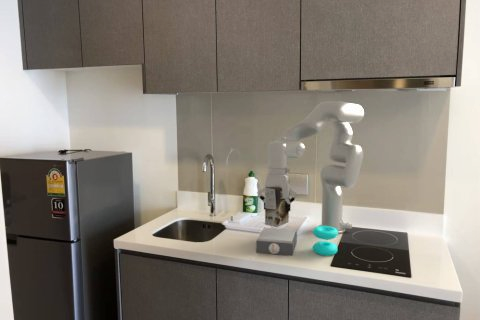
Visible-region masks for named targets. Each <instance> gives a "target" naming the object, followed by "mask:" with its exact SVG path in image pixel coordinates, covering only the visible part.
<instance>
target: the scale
mask: <svg viewBox="0 0 480 320" xmlns="http://www.w3.org/2000/svg"><path fill="white" fill-rule="evenodd" d="M297 233H298V232H297V230H296V229H291V228H290V229H289V228H280V227H266V226H265V227H263V228H262V230H261V232H260V234H259V236H257V239H256V241H255V242H256V243H255V253H256V254H257V253H258V254H267V255H269V254H271V255H278V254H279V256H291V257H292V256H293V255H294V253H295V250H296V245H297V241H298V238H297V237H298V234H297Z"/></svg>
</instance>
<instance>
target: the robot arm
mask: <svg viewBox="0 0 480 320" xmlns="http://www.w3.org/2000/svg"><path fill="white" fill-rule="evenodd" d="M364 116H365V111H364V108H363V106H361V105H360V104H358V103H352V102H346V101H339V100H337V101H336V100H333V101H332V100H329V101H328V100H327V101H326V100H324V101H321V102H320V103H318V104H317V105H316V106H315V107H314V108H313V109H312V110H311V112H309V114H307V115H306V117H305V118H304V119H303V120H301V121H298V122H297V123H296V124H294V125H292V126H290V127H288V128H287V129H284V131H283V132H282V133H281V134H280V135H279V136H278V137H277V138H276V140H274V141H273V140H272V141H270V142H269V143H268V149H267V150H268V152H267V153H268V155H267V156H268V160H267V162H268V171H267V172H268V173H266V177H265V181H264V183H265V184H264V187H263V188H261V189H260V190H258V191H257V192H256V193H257V195H258V197H259V199H260V200H261V201H262V203H263V210H265V195H264V194H262V193H265V190H266V187H269V188H282V194H283V199H285V200H286V201H287V205H286V213H290V212H291V207H292V206H291V205H292V204H291V203H292V202H294V201H295V200H296V198H297V197H298V195H299V194H298V193H297V192H296V191H294V189H292V188H291V184H290V175H289V174H288V173H291V168H288V166H287V164H288V162H287V159H299V158H301V157H302V156H303V155H304V154H305V151H306V146H305V144H304V143H303V142H302V141H300V140H303V139H306V138H310V137H313V136H316V135H319V133H320V131H322V129H323V128H324V127H325V126H326V125H327V124H328V123H329V122H330V121H331V123H332V125H333V127H334V128H333V129H334V133H333V137H332V140H331V146H330V149H329V152H328V156H329V159H330V161H332V162H335V163H338V164H332V163H331V164H326V165H324V166H323V167H322V168H321V170H320V175H319V176H320V181H321V182H320V183H321V224H319V225H318V226H331V227H334V228H335V229H337V231H338V235H339V234H343V233H345V231H346V229H353V224H351V223H350V222H344V220H343V202H344V193H343V190H342V188H344V189H352V188H354V187H355V186H356V184H357V182H358V179H359V175H360V172H361V167H362V164H363V160H364V150H363V148H362V147H361V146H360V145H359V144H356V143H352V141H353V135H354V134H353V129H352V126H351V125H350V124H358V123H360V122H361V121H362V120H363V118H364ZM339 164H345V165H339ZM290 195H292V197H290Z"/></svg>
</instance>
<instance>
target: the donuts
mask: <svg viewBox="0 0 480 320" xmlns="http://www.w3.org/2000/svg"><path fill="white" fill-rule="evenodd" d="M312 234H313V235H314V236H315V238H318V239H320V241H318V242H315V243H314V244H313V245H312V250H313V252H314V253H315V254H316V255H320V256H324V257H325V256H326V257H327V256H333V255H335V254H337V253H338V251H339V250H338V246H337V245H336V244H335V243H333V242H331V241H330V240H333V239H335V238H336V237H338V235H339V234H338V231H337V229H335V228H334V227H331V226H319V225H318V226H316V227H314V228H313V230H312ZM326 240H329V241H326Z"/></svg>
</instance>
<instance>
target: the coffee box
mask: <svg viewBox="0 0 480 320" xmlns="http://www.w3.org/2000/svg"><path fill="white" fill-rule="evenodd" d="M264 197H265V209H264V225H265V226H270V227H272V228H280V227H281V226H283V225H286V224H288V223H289V219H290V214H289V213H290V212H289V213H286V205H287V201H286V200H285V199H283V194H282V188H269V187H266V190H265V191H264Z"/></svg>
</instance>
